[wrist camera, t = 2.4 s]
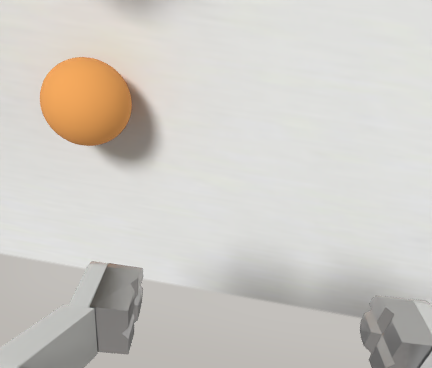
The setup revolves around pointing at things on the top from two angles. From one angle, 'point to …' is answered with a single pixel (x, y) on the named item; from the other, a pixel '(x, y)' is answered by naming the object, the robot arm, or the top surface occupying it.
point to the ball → (85, 101)
